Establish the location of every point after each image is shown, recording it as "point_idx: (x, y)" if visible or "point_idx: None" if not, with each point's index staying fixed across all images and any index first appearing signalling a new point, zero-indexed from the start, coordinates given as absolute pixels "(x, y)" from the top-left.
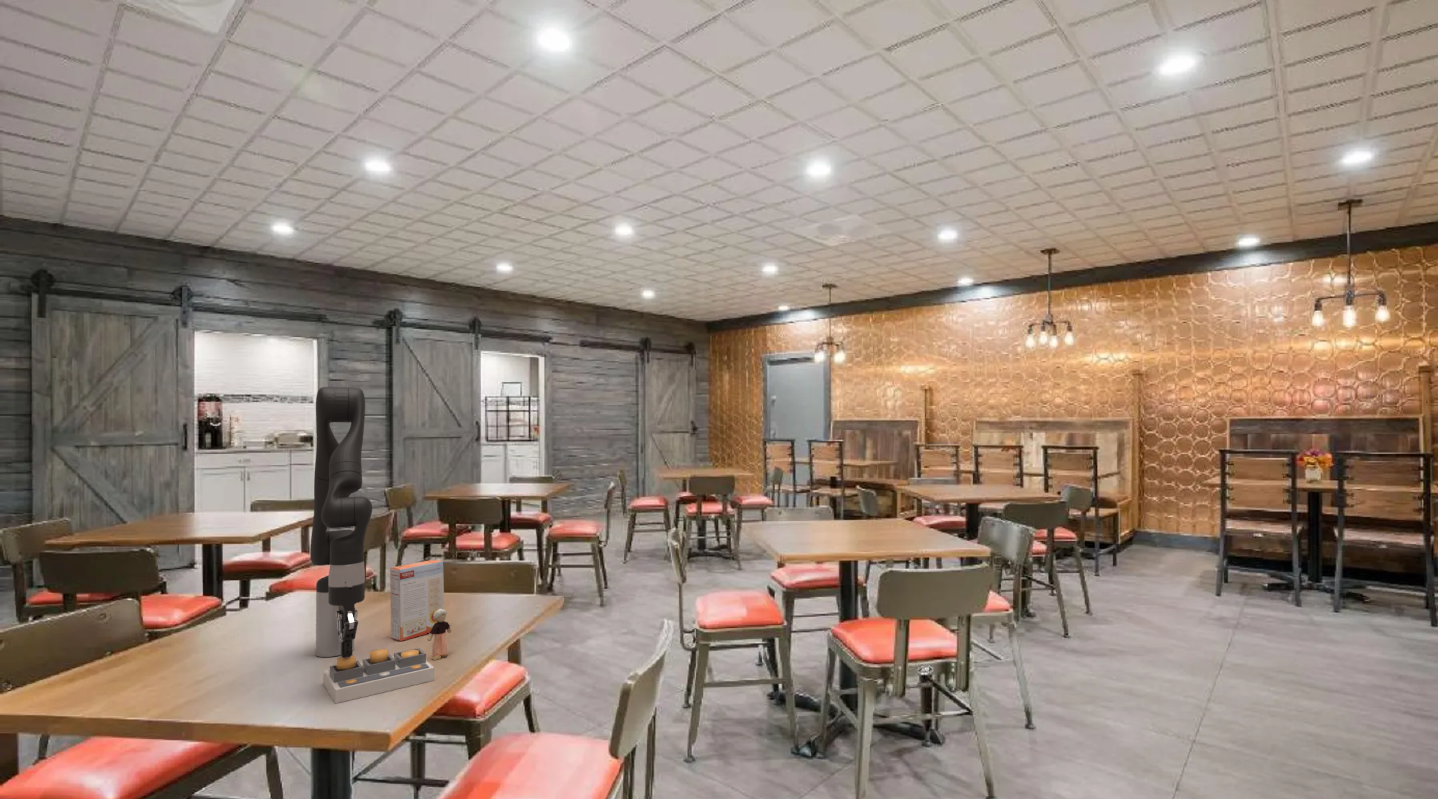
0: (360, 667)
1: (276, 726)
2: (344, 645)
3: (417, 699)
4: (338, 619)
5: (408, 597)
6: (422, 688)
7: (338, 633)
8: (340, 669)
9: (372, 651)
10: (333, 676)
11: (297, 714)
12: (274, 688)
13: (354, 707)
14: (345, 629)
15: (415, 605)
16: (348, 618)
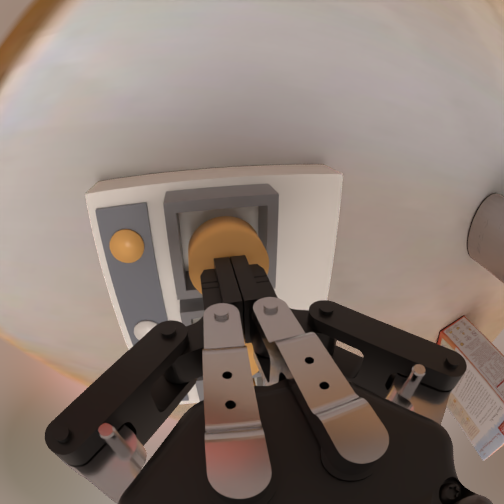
0: (178, 292)
1: (29, 43)
2: (204, 303)
3: (49, 344)
4: (220, 439)
5: (481, 394)
6: (111, 362)
7: (320, 311)
8: (197, 228)
9: (252, 347)
10: (178, 196)
11: (77, 80)
12: (377, 52)
13: (46, 228)
14: (71, 403)
15: (467, 389)
16: (102, 485)
